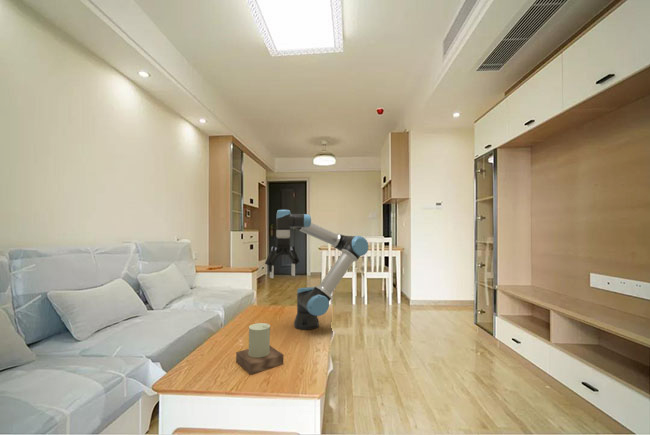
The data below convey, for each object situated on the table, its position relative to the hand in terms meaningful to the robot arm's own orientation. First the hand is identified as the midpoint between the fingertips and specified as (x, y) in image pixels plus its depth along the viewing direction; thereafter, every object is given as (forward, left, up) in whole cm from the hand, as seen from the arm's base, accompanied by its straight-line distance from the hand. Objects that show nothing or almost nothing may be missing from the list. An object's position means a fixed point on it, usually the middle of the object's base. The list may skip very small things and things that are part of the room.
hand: (282, 276), depth 153 cm
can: (+23, +19, -29) cm, 41 cm away
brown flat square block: (+23, +19, -33) cm, 44 cm away
